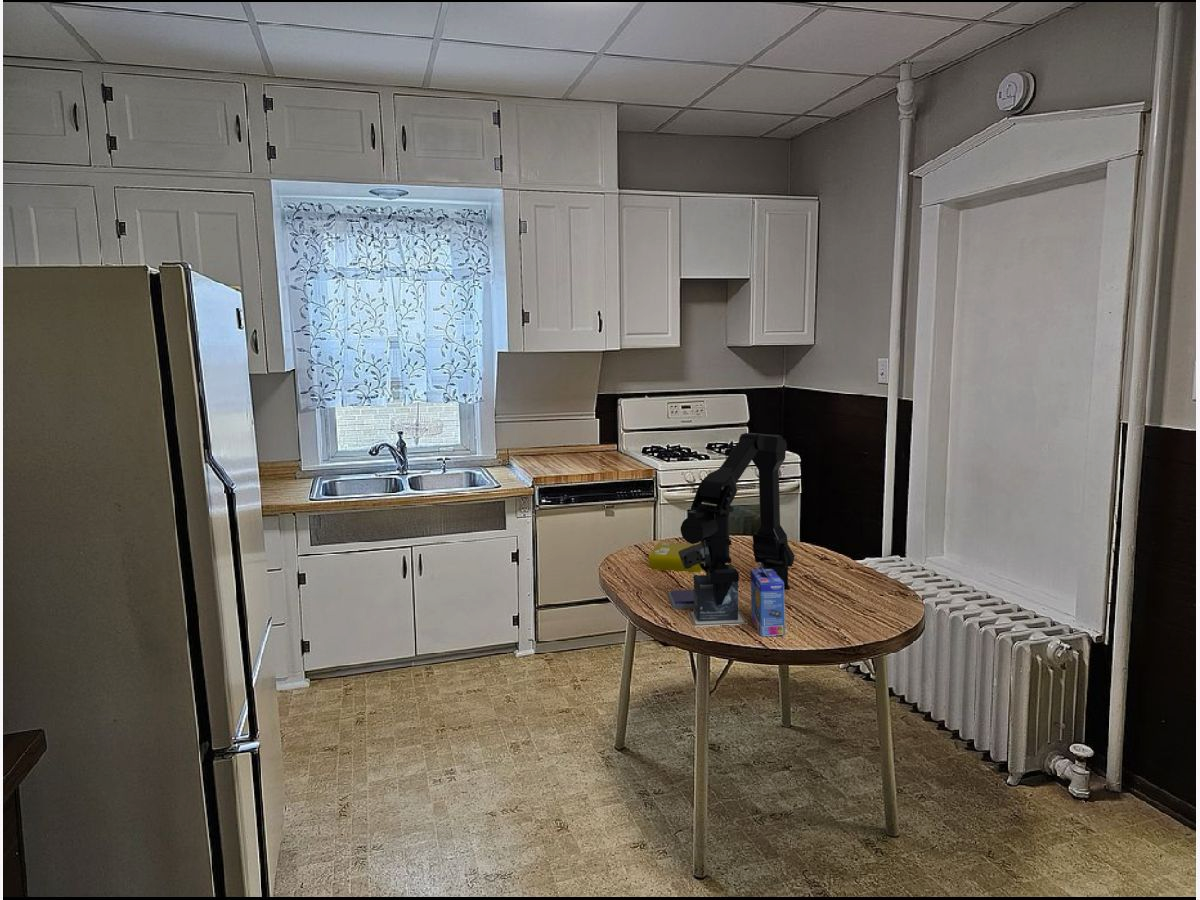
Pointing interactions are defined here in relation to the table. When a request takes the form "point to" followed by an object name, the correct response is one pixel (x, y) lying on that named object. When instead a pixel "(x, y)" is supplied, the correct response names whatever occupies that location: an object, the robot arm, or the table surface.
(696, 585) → the box
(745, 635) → the table surface
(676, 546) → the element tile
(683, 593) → the ink pad
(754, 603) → the ink cartridge box
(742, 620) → the card
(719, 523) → the robot arm
